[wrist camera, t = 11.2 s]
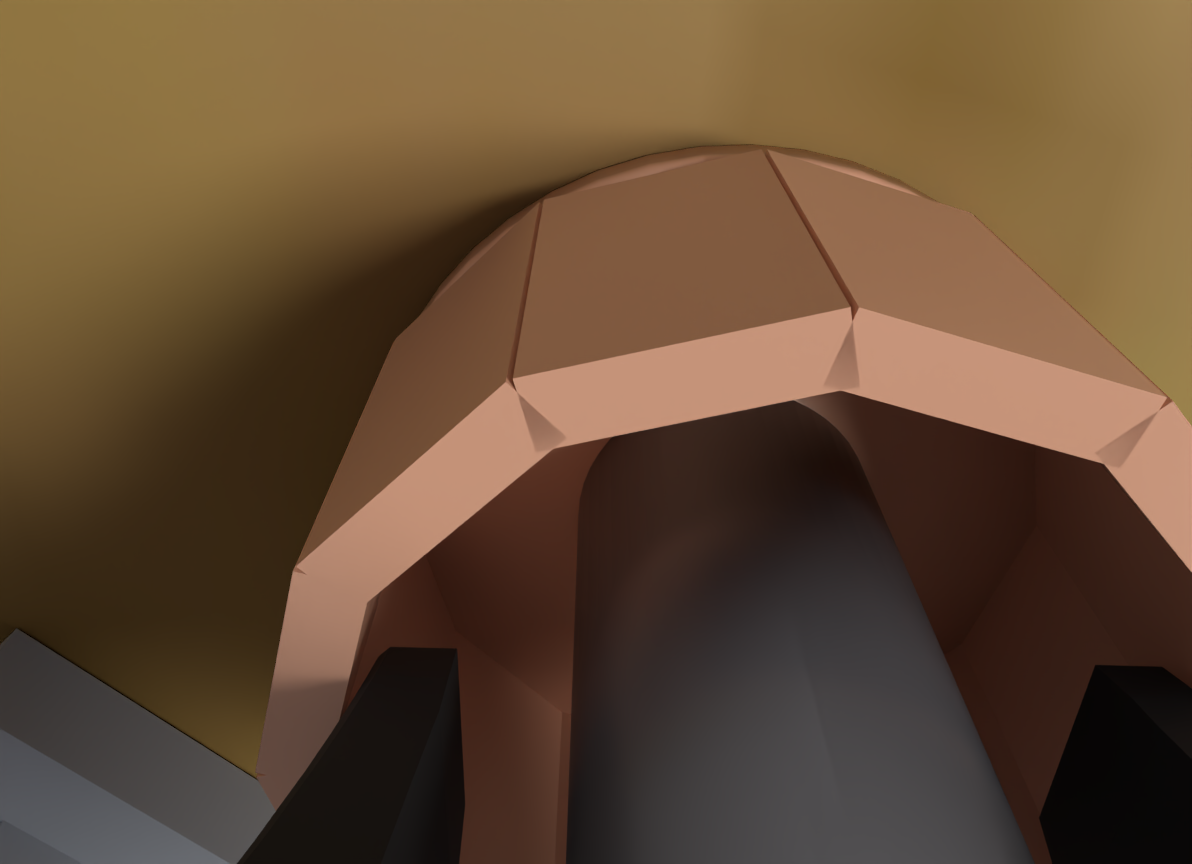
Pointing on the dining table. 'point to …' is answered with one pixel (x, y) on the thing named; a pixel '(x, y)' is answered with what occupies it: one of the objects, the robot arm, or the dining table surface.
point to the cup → (724, 385)
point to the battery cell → (762, 664)
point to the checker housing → (109, 775)
